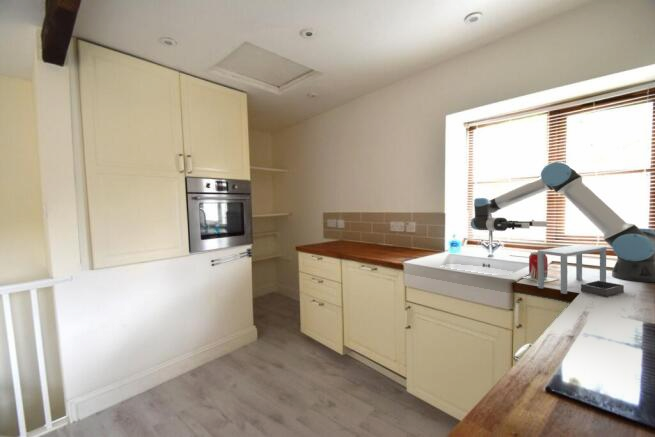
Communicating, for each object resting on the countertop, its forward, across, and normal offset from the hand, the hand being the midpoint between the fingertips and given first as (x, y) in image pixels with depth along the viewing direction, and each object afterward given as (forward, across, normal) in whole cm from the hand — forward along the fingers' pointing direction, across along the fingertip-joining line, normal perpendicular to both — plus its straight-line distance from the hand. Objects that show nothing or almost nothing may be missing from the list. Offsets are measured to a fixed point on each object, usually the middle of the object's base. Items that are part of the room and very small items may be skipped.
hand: (537, 224), depth 136 cm
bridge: (+17, +7, -26) cm, 32 cm away
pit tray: (+27, +7, -26) cm, 38 cm away
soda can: (+3, +7, -25) cm, 26 cm away
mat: (+4, +7, -26) cm, 27 cm away
